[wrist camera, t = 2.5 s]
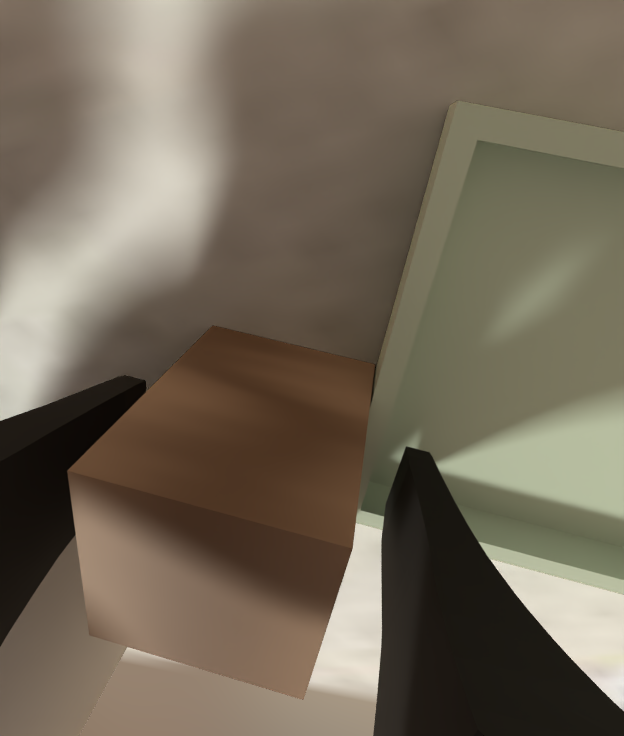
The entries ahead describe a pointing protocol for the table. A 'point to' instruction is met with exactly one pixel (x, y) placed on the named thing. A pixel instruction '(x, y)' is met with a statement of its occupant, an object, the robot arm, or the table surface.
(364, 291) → the table surface
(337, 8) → the table surface
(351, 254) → the table surface
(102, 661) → the can
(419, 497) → the robot arm
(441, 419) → the tray
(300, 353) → the block
